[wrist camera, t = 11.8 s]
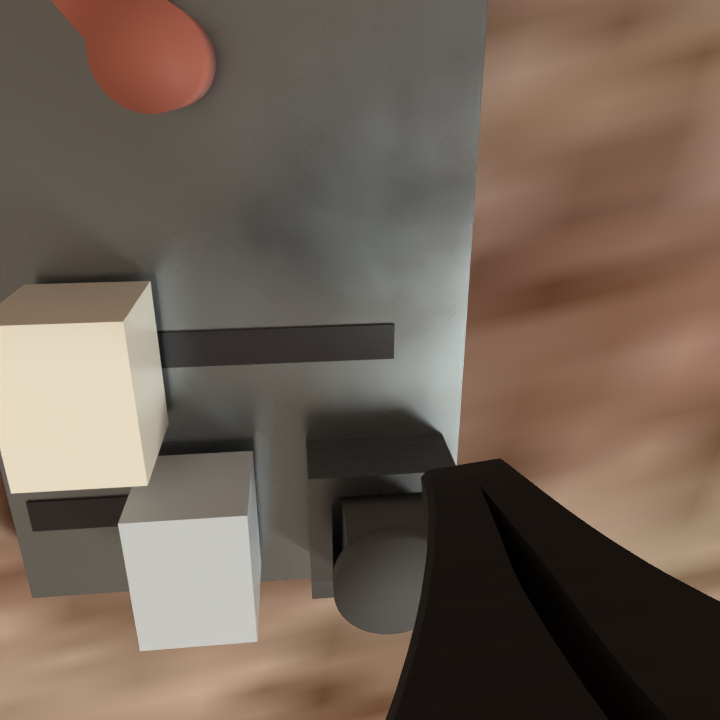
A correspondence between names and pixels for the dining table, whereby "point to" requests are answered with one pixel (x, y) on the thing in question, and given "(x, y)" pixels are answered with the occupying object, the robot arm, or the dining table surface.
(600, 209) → the dining table surface
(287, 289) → the console
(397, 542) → the dark grey button
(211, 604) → the grey block
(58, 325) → the cream block
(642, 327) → the dining table surface
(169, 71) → the red lever
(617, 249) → the dining table surface
